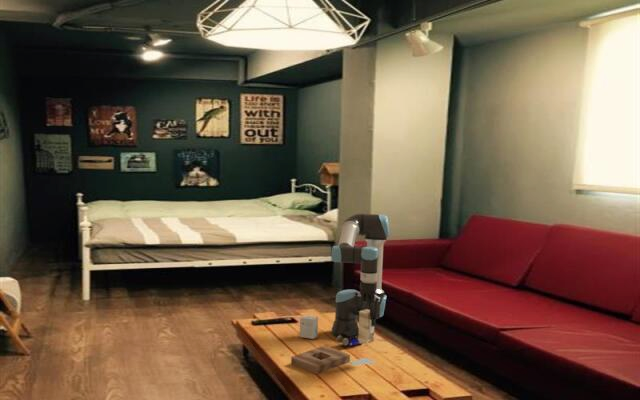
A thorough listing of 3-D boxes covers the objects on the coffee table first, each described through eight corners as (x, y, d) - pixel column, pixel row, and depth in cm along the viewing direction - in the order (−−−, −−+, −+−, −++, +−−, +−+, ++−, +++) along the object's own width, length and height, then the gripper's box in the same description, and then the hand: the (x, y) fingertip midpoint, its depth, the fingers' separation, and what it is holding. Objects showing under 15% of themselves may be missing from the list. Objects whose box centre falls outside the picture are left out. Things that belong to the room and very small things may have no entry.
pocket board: (324, 353, 278) (324, 345, 278) (349, 363, 267) (349, 354, 267) (291, 365, 262) (291, 356, 262) (316, 376, 251) (316, 367, 251)
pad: (363, 358, 273) (363, 357, 273) (380, 365, 266) (380, 363, 266) (349, 364, 266) (349, 363, 266) (366, 370, 259) (366, 369, 259)
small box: (317, 336, 302) (318, 316, 301) (313, 339, 297) (314, 319, 296) (303, 333, 305) (304, 314, 304) (299, 337, 300) (300, 317, 299)
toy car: (344, 352, 283) (368, 344, 292) (343, 338, 282) (367, 329, 290) (336, 348, 289) (359, 340, 297) (335, 334, 288) (358, 326, 296)
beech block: (365, 338, 268) (366, 309, 267) (373, 341, 265) (374, 311, 263) (358, 341, 264) (359, 311, 263) (366, 343, 261) (367, 313, 259)
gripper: (348, 278, 265) (346, 328, 268) (379, 286, 253) (376, 338, 255) (358, 276, 271) (356, 324, 273) (389, 283, 258) (387, 334, 260)
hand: (366, 331), depth 264 cm, fingers closed on beech block, 5 cm apart
